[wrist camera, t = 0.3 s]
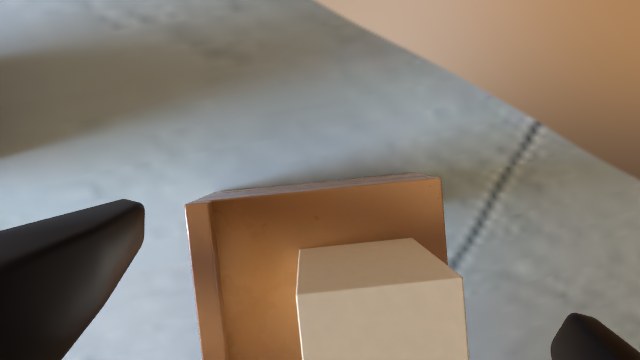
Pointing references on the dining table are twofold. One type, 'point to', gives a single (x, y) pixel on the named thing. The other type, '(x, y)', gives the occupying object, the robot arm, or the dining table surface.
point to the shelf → (291, 251)
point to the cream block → (379, 303)
